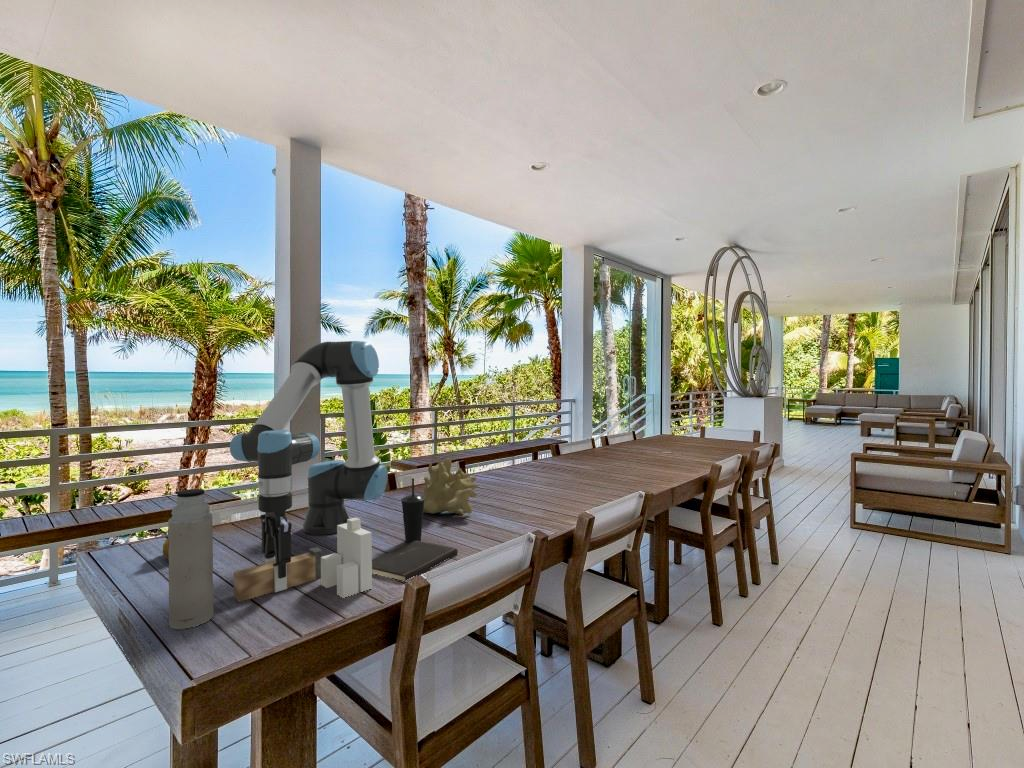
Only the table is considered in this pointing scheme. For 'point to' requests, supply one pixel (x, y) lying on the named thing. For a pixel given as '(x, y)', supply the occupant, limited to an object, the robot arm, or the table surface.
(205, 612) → the thermos bottle
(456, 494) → the decorative coral
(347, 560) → the white block with nub
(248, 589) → the tan piece
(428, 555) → the hardcover book
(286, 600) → the table surface
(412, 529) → the drinking cup
